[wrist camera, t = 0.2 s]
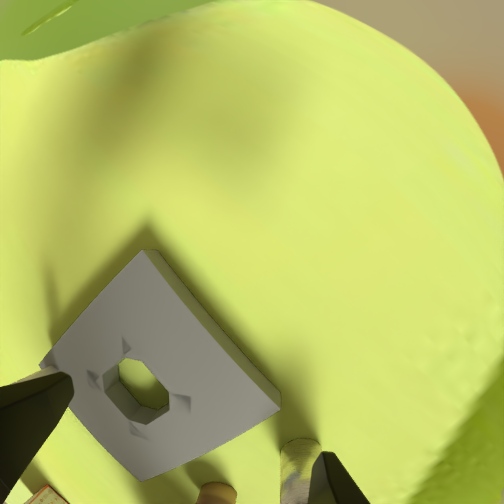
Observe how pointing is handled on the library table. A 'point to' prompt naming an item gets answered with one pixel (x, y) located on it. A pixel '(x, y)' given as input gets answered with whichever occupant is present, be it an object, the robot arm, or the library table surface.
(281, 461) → the long pin
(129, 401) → the grey peg base
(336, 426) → the library table surface
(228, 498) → the short pin
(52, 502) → the cracker box
